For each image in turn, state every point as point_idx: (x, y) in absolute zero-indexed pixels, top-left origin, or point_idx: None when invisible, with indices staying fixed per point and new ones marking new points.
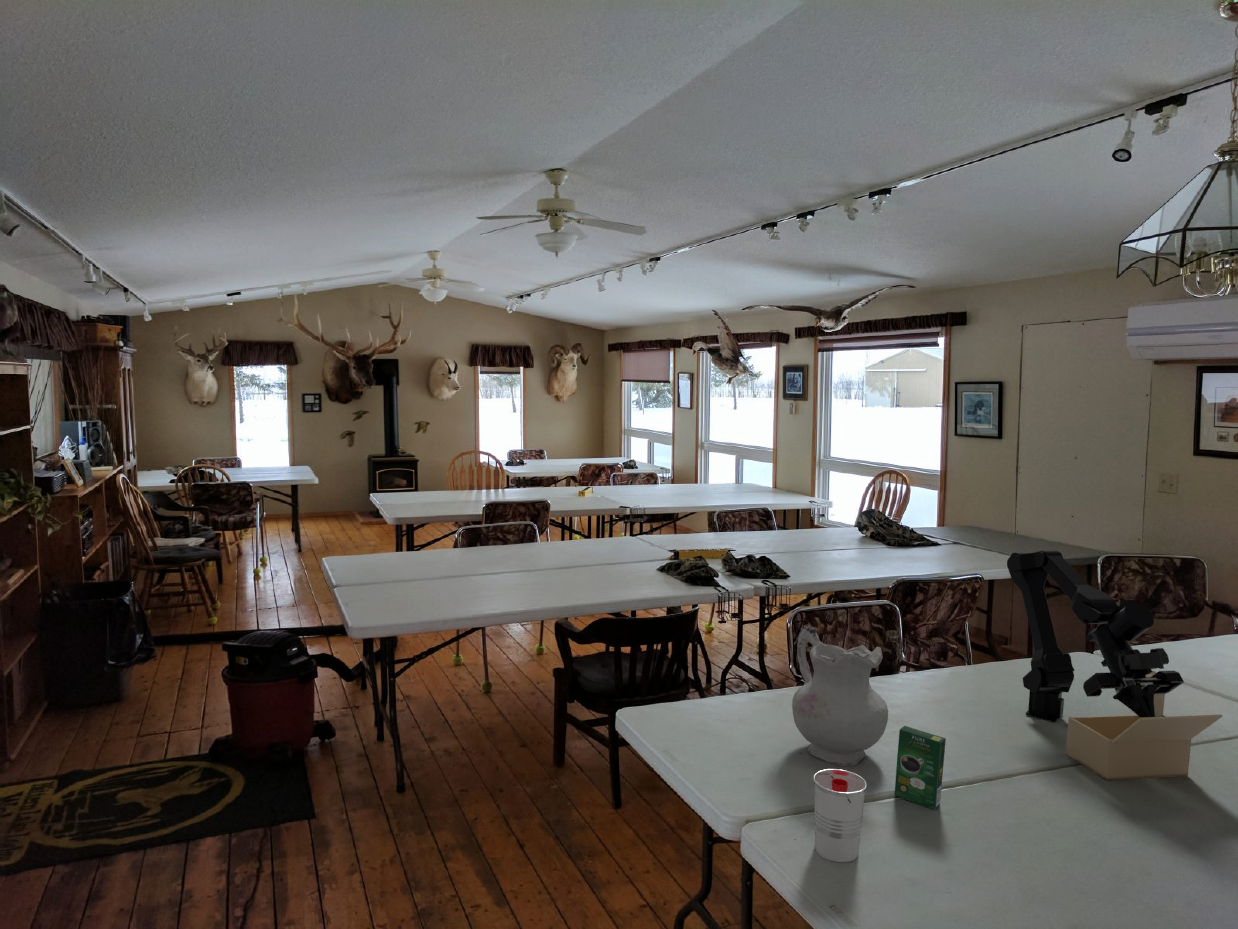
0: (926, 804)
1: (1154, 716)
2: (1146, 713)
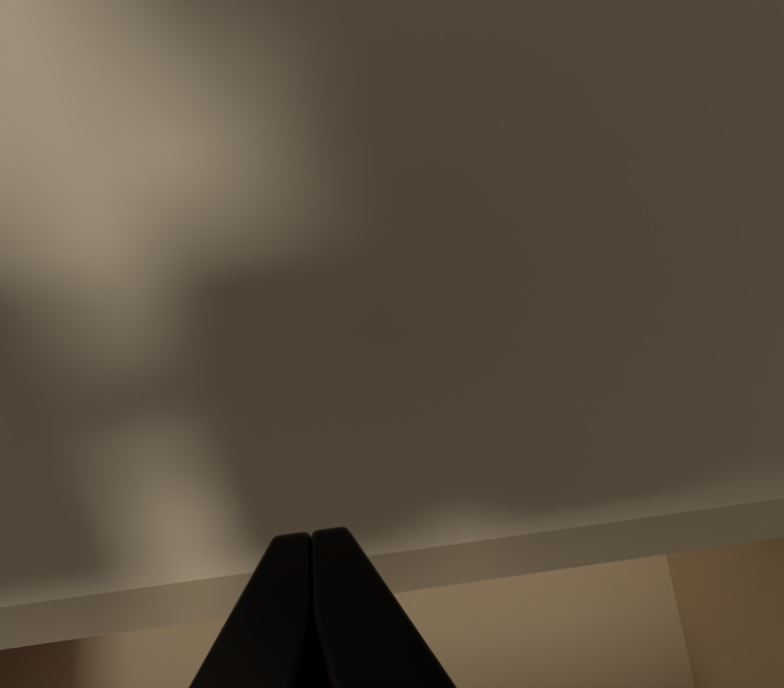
0: None
1: (247, 604)
2: (413, 629)
